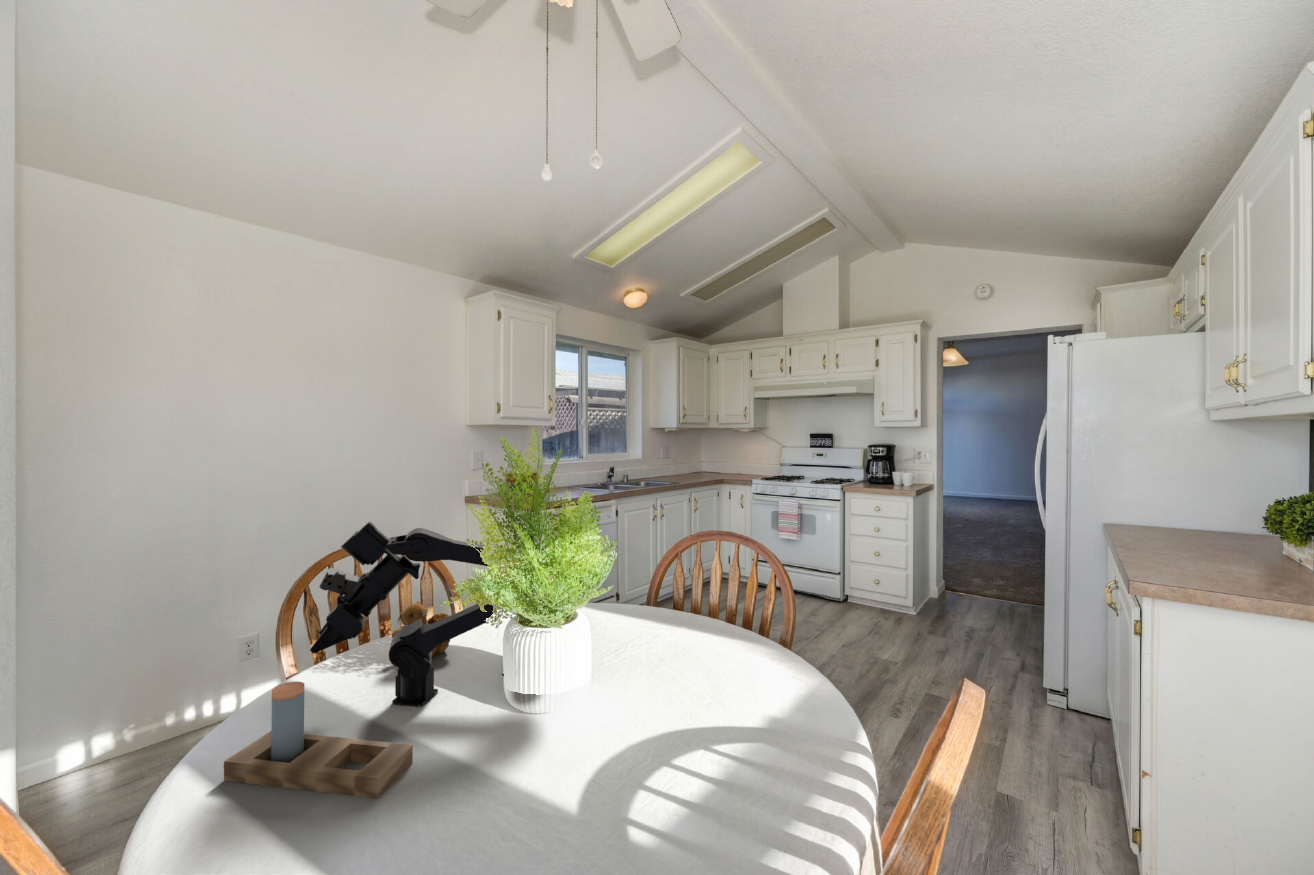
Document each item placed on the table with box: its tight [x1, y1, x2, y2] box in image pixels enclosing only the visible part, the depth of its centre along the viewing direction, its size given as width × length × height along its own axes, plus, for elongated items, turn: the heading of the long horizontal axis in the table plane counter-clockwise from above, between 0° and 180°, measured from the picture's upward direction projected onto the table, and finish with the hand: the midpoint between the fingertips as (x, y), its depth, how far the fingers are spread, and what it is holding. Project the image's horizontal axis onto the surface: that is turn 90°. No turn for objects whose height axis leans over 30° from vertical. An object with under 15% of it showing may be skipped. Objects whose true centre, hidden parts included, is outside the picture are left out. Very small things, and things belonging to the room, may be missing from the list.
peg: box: [270, 681, 305, 763], centre depth 90 cm, size 4×4×13 cm
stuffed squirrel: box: [391, 601, 451, 658], centre depth 135 cm, size 10×14×13 cm
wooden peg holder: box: [223, 730, 414, 799], centre depth 89 cm, size 26×9×3 cm, turn 82°
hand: (316, 642), depth 107 cm, fingers open, 9 cm apart
